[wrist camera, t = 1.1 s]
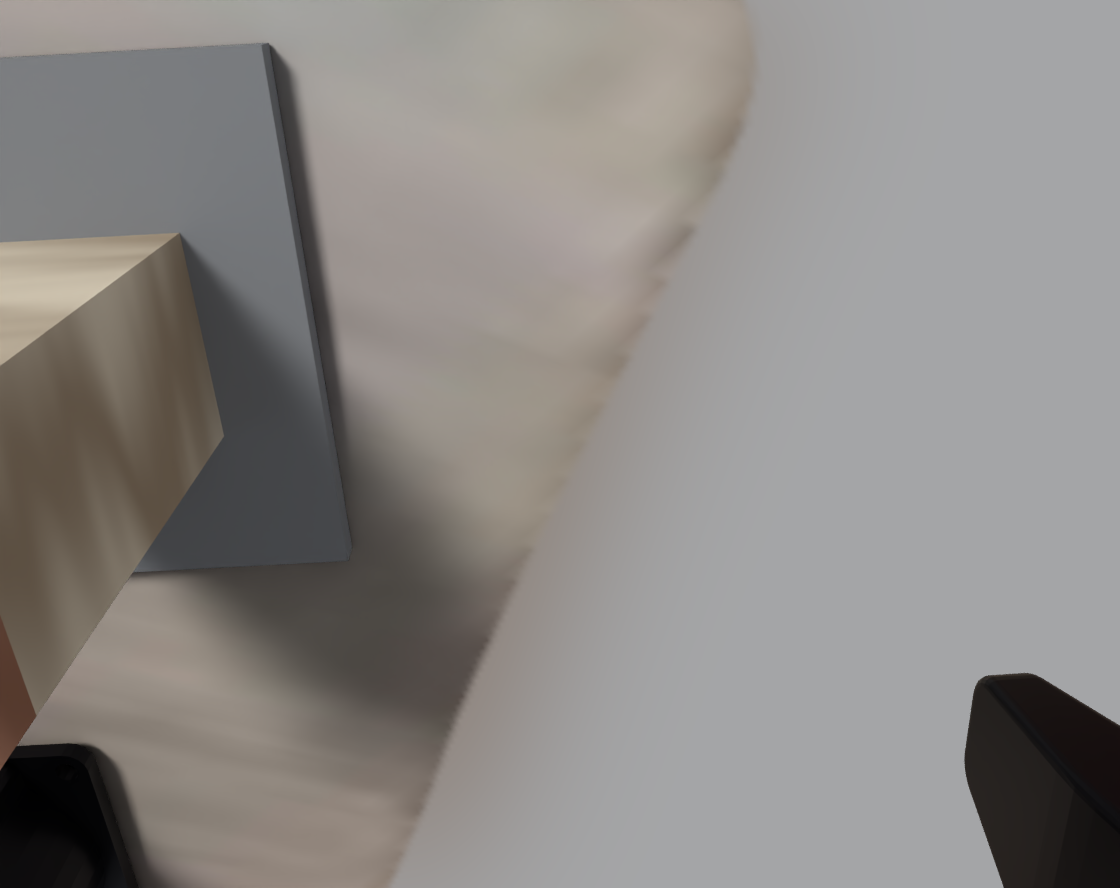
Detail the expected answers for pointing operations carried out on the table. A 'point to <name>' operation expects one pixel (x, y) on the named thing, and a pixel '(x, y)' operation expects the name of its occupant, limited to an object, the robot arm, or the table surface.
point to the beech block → (88, 440)
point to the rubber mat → (196, 269)
